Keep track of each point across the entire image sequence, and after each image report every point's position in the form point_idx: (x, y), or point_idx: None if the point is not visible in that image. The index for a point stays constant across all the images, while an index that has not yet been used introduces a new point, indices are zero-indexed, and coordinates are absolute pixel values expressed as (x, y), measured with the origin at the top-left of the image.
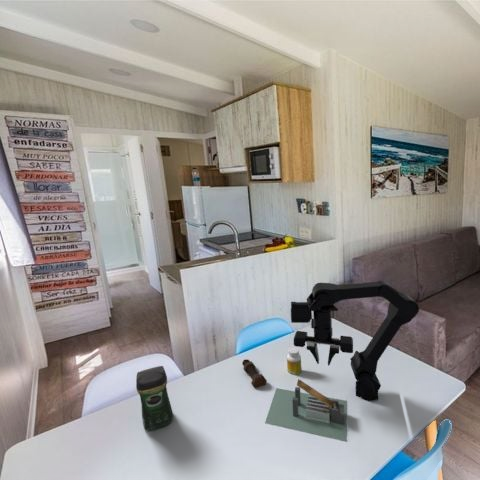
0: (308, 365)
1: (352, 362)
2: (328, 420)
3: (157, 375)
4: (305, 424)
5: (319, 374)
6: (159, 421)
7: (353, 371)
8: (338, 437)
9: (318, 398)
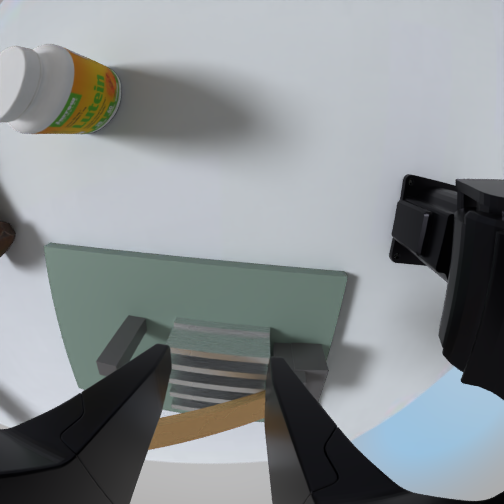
0: (159, 24)
1: (493, 303)
2: None
3: None
4: None
5: (218, 77)
6: None
7: (455, 317)
8: None
9: (213, 432)
